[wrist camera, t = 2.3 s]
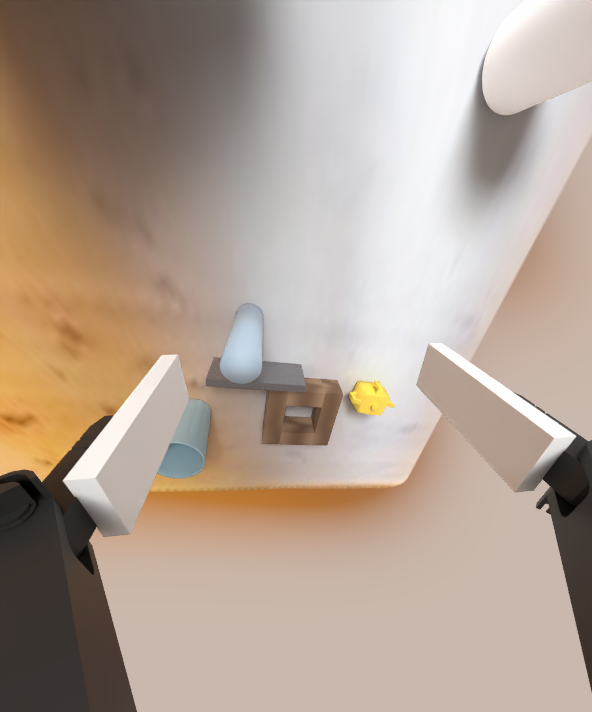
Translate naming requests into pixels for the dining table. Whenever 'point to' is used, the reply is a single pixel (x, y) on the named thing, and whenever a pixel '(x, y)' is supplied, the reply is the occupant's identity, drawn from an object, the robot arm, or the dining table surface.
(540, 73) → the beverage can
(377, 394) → the teapot
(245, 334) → the peg
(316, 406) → the socket block
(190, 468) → the cup
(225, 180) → the dining table surface
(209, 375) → the rail
